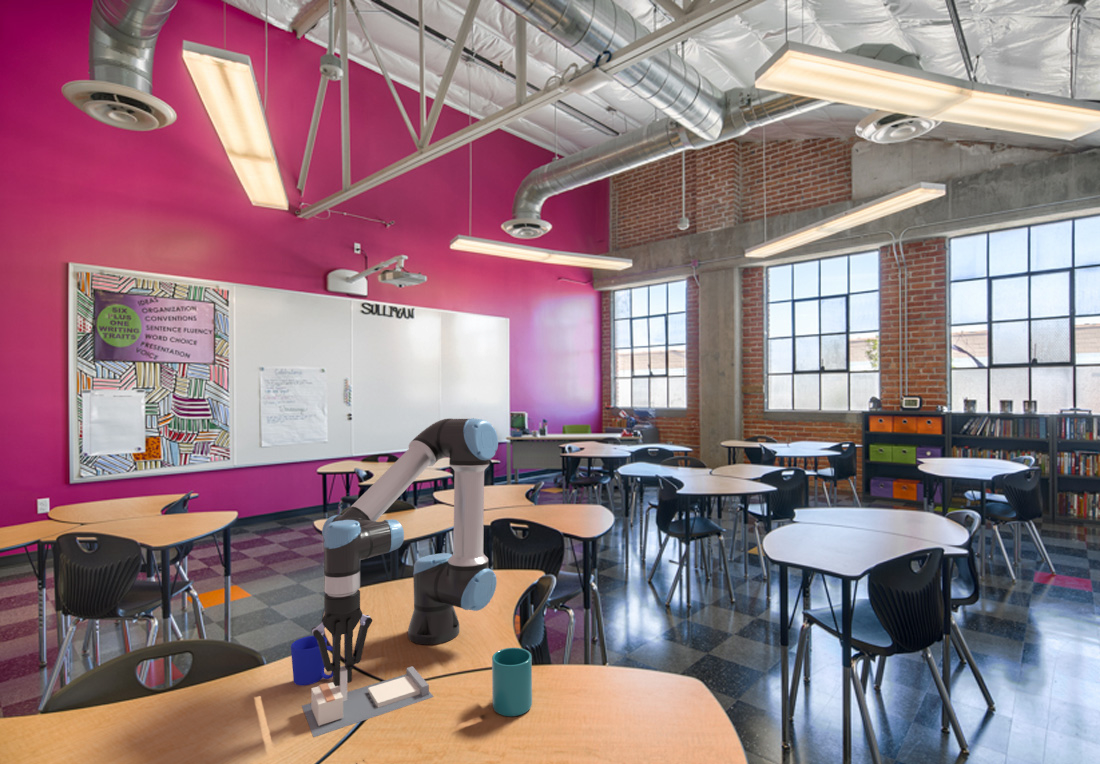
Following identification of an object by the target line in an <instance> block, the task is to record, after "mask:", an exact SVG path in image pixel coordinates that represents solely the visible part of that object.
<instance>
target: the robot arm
mask: <svg viewBox="0 0 1100 764" xmlns="http://www.w3.org/2000/svg"><path fill="white" fill-rule="evenodd" d="M498 447H499V438H498V434H497V431H496V428H495V427H494V426H493V425H492V423H491V422H490V421H488V420H486V419H482V418H481V419H480V418H474V417H473V418H444V419H441V420H440V419H439V420H438V421H435V422H434V423H432V424H430V425H429V426H428V427H426V428H425V429H424V430H422V431H421V432H420V433H419V434H418V435H416V436H415V437H414V438H413V439H412V440H411V441H410V442H409V444H408V449H407V450H406V451H405V452H404V453H403V454H402V455H401V456H400V457H399V458H398V459H397V460H396V461H394V463H393V464H392V465H391V466H390V467H389V468H388V469H387V470H386V471H385V472H384V473H383V474H382V475H381V476H380V477H379V478H378V479H377V480H376V481H375V482H374V483H373V484H372V485H371V486H370V487H369V488H368V489H367V490H366V491H365V492H364V493H363V494H362V495H361V496H360V497H359V498H357V500H356V501H355V502H354V503H353V504H352V505H351V506H350V507H348V509H347V510H346V511H345V512H344V513H343V514H335V515H332V516H330V517H328V518H327V519H326V521H325V522H324V524H323V526H322V529H321V534H322V538H323V540H324V542H323V547H324V593H325V595H324V601H323V602H324V610H323V611H324V613H323V617H322V619H321V623H320V624H319V625H317V626H313V627H312V628H311V629H310V630H311V633H312V636H314V637H315V638H316V639H317V642H318V646H319V649H320V653H321V657H322V660H323V664H324V667H325V669H324V670H326V672H327V673H329V672H332V671H333V677H332V682H333V683H334V685H335V687H336V686H338V688H339V690H340V692H341V694H342V696H343V701H346V700H347V692H348V684H349V683H352V680H353V669H354V666H355V665H357V664H360V663H361V660H362V656H363V651H364V648H365V643H366V638H367V634H368V630H369V628H370V626H371V624H372V622H373V619H372V617H371V616H370V615H369V614H366V615H365V614H364V613H363V611H362V610H361V591H360V588H361V560H366V559H369V558H372V557H373V558H374V557H376V556H379V555H384V554H389V553H390V552H392V551H395V550H397V549H400V548H401V546H402V545H403V543H404V540H405V532H404V527H403V525H402V523H400V521H399V520H397V519H392V518H391V519H383V520H381V521H378V520H379V518H380V517H382V515H383V514H385V512H386V511H387V510H389V508H390V507H391V506H392V505H393V504H394V503H395V502H396V501H397V499H398V498H399V497H401V496H402V494H403V493H404V492H405V491H406V490H407V489H408V488H409V487H410V486H411V484H413V483H414V482H415V480H417V478H418V477H419V476H420V475H422V473H423V472H424V471H425V470H426V468H428V467H433V466H434V465H435V464H436V463H437V462H438V461H440V460H441V459H445V458H449V459H448V461H449V467H450V468H451V469H453V472H454V481H453V482H454V484H453V485H454V487H453V488H454V490H453V491H454V493H453V495H454V496H453V500H454V501H453V505H454V506H453V540H452V541H453V543H452V544H453V550H452V553H447V552H443V553H442V552H441V553H436V554H435V553H433V554H429V555H426V556H422V557H420V558H417V560H415V561H414V564H413V573H412V574H413V578H412V579H413V611H412V614H411V615H412V616H411V618H410V621H409V625H408V628H407V638H408V639H409V641H411V642H413V643H414V644H419V645H436V644H437V645H439V644H441V643H446V642H449V641H451V640H453V639H455V638H457V636H459V634H460V622H459V619H458V615H457V613H456V609H455V607H456V608H459V609H463V610H465V611H473V612H475V611H476V612H478V611H481V610H482V609H484V608H486V607H487V606H488V604H489V603H490V602H491V600H492V599H493V597H494V594H495V591H496V590H497V583H498V582H497V576H496V573H495V572H494V571H493V569H491V568H489V558H488V557H487V556H486V555H485V553H484V523H485V522H484V516H485V515H484V514H485V513H484V512H485V511H484V510H485V509H484V507H485V505H484V504H485V496H484V495H485V470H486V469H487V468H488V467H489V466H490V460H491V459H492V458H494V456H496V452H497V450H498ZM358 624H360V625H359V628H358V633H357V636H356V640H355V645H354V650H353V637H354V630H355V628H356V627H357V626H358ZM325 629H327V631H328V632H329V633H330V634H331V638H332V651H331V652H332V657H331V658H332V661H331V659H330V655H329V652H328V651H329V650H327V647H326V646H327V644H325V640H324V638H323V637H324V634H325V632H326V631H325ZM342 635H343V636H344V638H343V639H344V643H343V646H344V647H343V650H344V651H343V652H344V655H343V656H344V658H343V662H344V665H341V664H342V663H341V657H342V656H341V654H342V653H341V650H342V649H341V646H342V645H341V643H342V642H341V641H342Z"/></svg>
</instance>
